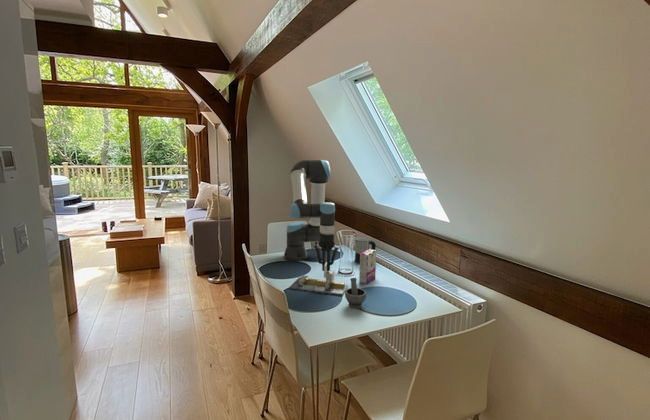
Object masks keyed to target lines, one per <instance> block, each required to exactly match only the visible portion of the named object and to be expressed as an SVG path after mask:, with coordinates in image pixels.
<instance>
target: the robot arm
mask: <svg viewBox="0 0 650 420" xmlns="http://www.w3.org/2000/svg"><path fill="white" fill-rule="evenodd" d="M331 173H332V172H331V166H330V163H329V161H328V160H325V159H303V160H298V162H296V163H295V164H294V165H293V166H292V168H291V170H290V173H289V179H290V180H291V183H292V185H291V186H292V200H293V203H291V204H290V205H289V214H290V215H289V216H290V218H293V219H294V218H295V219H309V220H308V221H307V224H306V223H305V222H304V221H294V222H291V223H288V224H287V226H286V231H285V232H286V248H285V251H284V253H283V258H284V260H287V261H291V262H297V261H298V262H299V261H300V262H301V261H304V260H307V258H308V253H307V249H306V246H305V243H317V244H315V245H314V249H315V251H316V257H317V260H318V263H319V264H320V265H322V267H321V268H322V269H321V270H322V272H323V278H325V279H326V273H327V272H328V271H330V270H331V266H332V265H334V263H335V259H336V256H337V252H338V250H339V249H340V246H337V245H336V243H335V220H336V219H335V218H336V217H335V216H336V215H335V214H336V206H335V205H336V204H335V203H334V202H331V201H329V202H328V201H326V200H325V197H326V195H325V194H326V185H327V184H328V183H329V182H328V181H329V180H331ZM306 180H308V182H309V183H310V184H311V188H310V189H311V191H310V192H311V193H310V203H308V196H307V195H308V194H307V187H306ZM325 201H326V202H325ZM332 249H333V252H332ZM321 252H322V253H321ZM331 252H332V253H331ZM331 254H332V256H331Z"/></svg>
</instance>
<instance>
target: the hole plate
mask: <svg viewBox="0 0 650 420" xmlns="http://www.w3.org/2000/svg"><path fill="white" fill-rule="evenodd" d="M348 287H349V285H348V284H345V287H344V288H339V287H332V286H329V289H325V286H324V285H317V284H310V283H304V284H303V285H302V286H299V282H298V278H297V279H296V280H295V281H294V282H293V283H292V284H291V285H290V286H289V289H290V290H297V291H304V290H307V291H306V292H311V291H315V292H314V293H318V292H322V293H321V294H325V293H330V294H329V295H332V294H336V295H335V296H339V295H340V296H339V297H343V296H344V295H345V291H346V290H347V289H348Z"/></svg>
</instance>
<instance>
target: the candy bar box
mask: <svg viewBox="0 0 650 420" xmlns="http://www.w3.org/2000/svg"><path fill="white" fill-rule="evenodd" d="M376 263H377V250H376V249H375V250H372V249H371V248H369V249H368V250H366V251H364V252H363V253H361V254H360V263H359V277H358V278H359V279H358V280H359V282H358V283H361V284H364V285H368V284H369V283H370V282H372V281H373V280H375V279H376V273H377V272H376V270H377V269H376V268H377V267H376V265H377V264H376Z"/></svg>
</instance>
